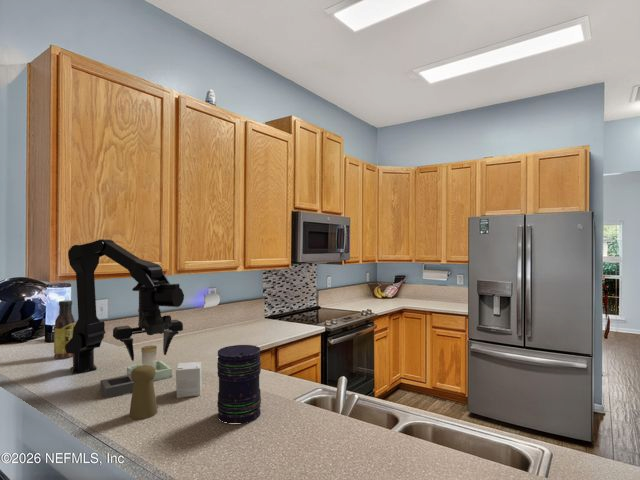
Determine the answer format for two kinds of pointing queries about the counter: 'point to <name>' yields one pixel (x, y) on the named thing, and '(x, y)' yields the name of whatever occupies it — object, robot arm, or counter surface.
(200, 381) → the skincare box
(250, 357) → the storage jar
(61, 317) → the sauce bottle
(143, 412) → the olive pepper mill
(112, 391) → the socket block
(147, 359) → the fuse
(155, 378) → the parts tray
